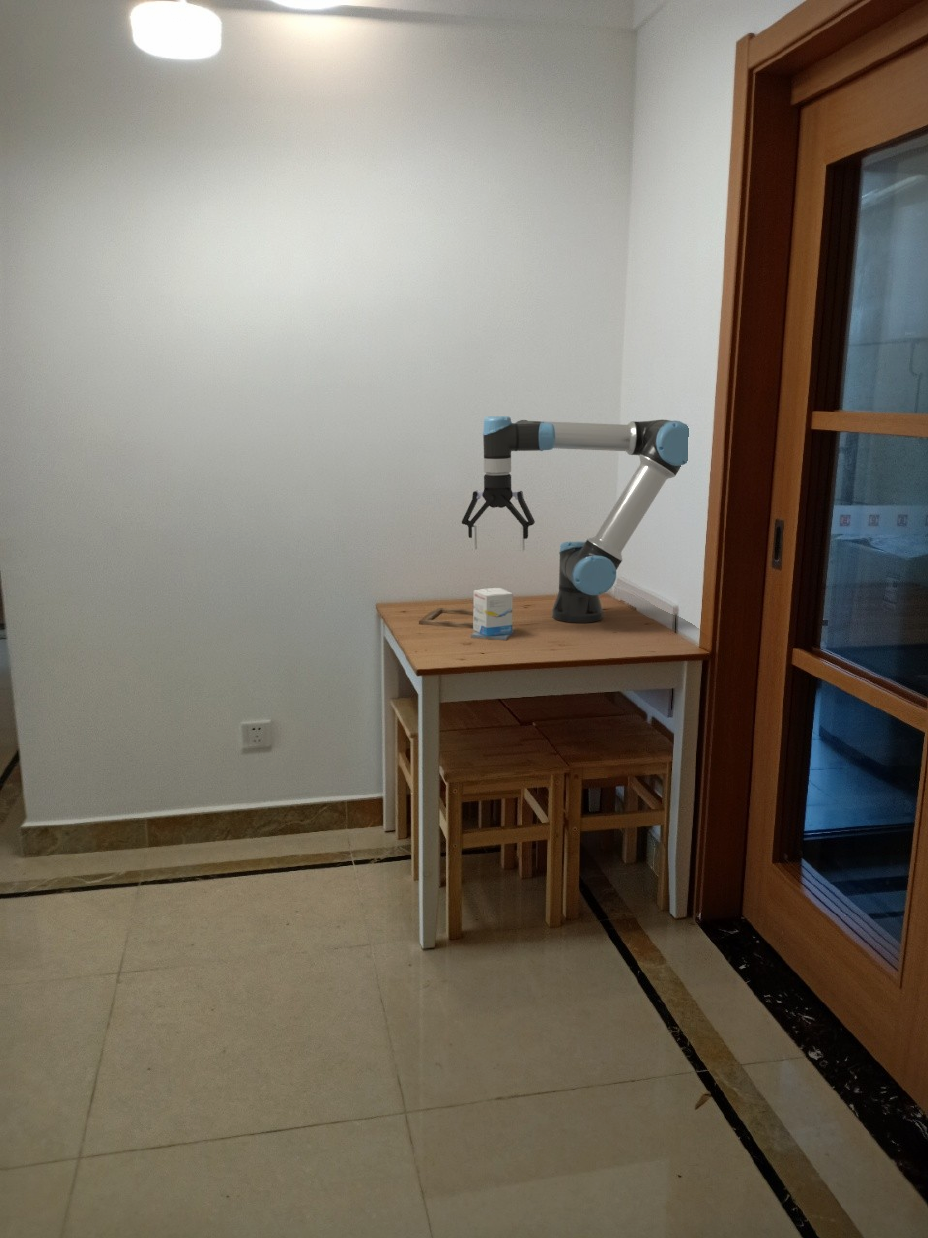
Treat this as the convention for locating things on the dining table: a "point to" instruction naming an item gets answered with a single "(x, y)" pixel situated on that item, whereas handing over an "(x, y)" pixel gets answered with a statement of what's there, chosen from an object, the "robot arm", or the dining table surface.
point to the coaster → (497, 637)
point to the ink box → (492, 611)
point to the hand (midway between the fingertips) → (498, 549)
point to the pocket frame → (428, 621)
